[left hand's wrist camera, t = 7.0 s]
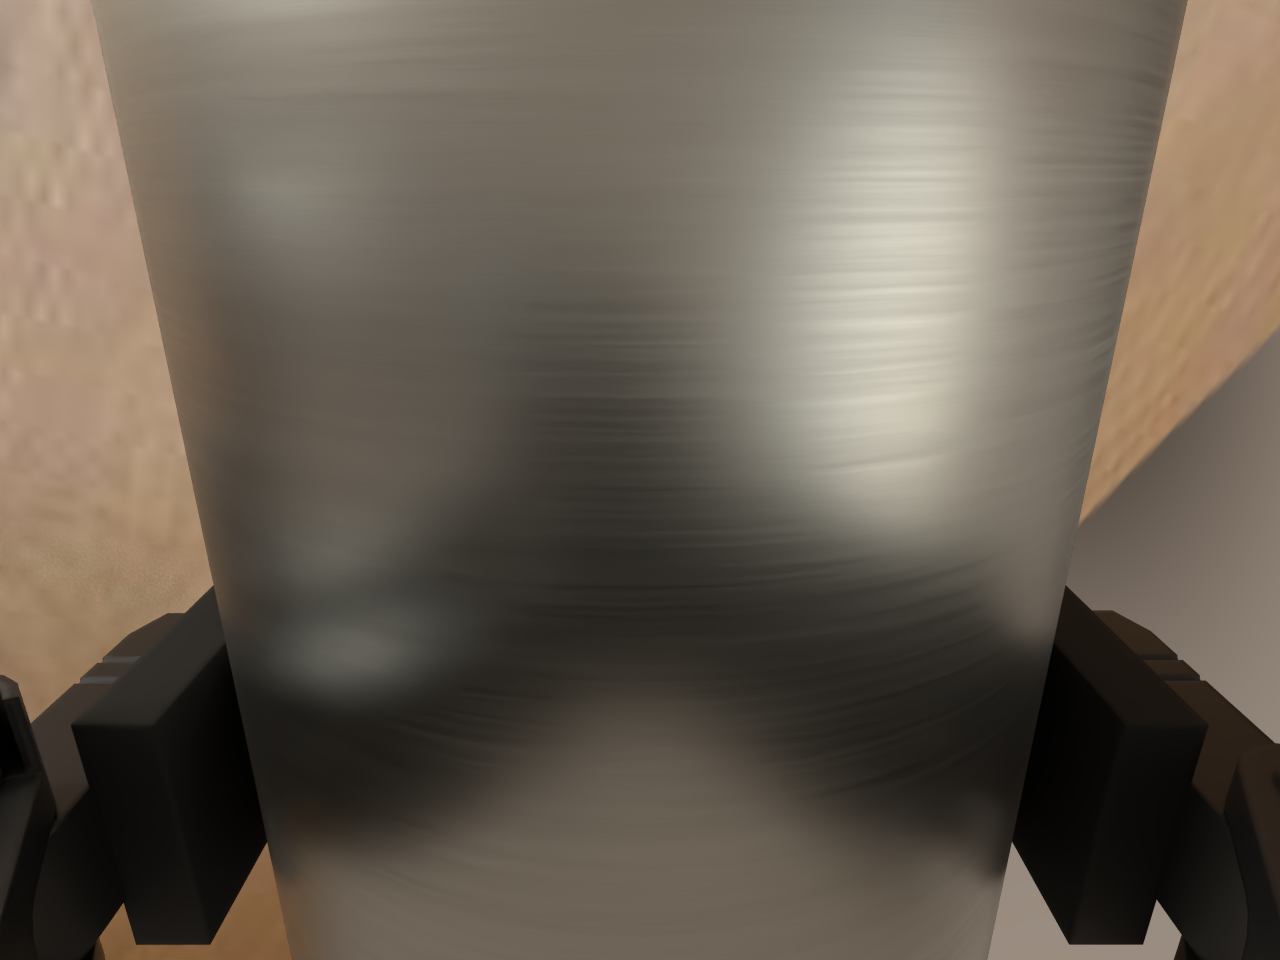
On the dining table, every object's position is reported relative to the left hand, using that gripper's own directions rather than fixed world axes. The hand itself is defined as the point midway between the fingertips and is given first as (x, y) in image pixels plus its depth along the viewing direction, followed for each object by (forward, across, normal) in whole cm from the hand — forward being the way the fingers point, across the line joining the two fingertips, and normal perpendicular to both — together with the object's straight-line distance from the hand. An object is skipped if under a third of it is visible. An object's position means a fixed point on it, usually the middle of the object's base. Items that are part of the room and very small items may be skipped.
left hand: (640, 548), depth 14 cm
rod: (+1, 0, -9) cm, 9 cm away
